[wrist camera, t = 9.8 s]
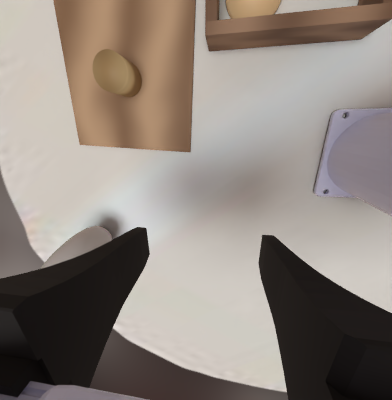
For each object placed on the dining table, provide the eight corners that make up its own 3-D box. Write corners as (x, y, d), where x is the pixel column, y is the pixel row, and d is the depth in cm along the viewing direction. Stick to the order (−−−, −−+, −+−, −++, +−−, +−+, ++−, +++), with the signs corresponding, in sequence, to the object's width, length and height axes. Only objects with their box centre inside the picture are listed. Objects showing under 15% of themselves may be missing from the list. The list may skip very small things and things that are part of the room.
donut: (105, 208, 24) (31, 257, 15) (127, 223, 24) (68, 280, 15) (80, 254, 28) (8, 316, 19) (100, 267, 28) (38, 334, 19)
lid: (197, -7, 16) (188, -46, 12) (191, 151, 20) (184, 156, 17) (59, -1, 17) (16, -34, 14) (84, 144, 22) (57, 147, 18)
